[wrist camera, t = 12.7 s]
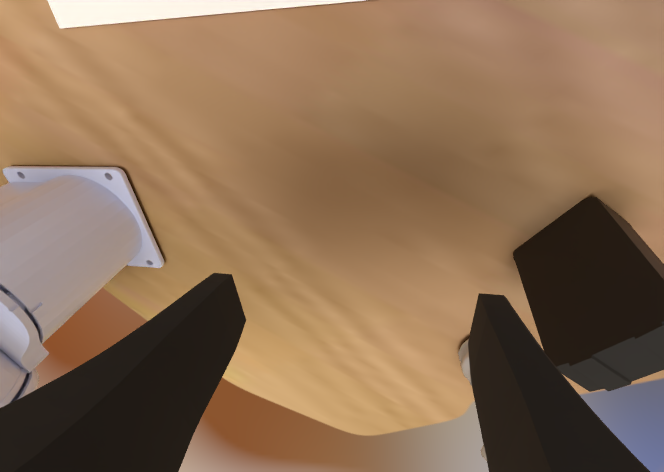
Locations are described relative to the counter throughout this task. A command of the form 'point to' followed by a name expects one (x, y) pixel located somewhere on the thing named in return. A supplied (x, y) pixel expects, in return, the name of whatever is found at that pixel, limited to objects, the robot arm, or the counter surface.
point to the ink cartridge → (595, 297)
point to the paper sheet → (158, 9)
